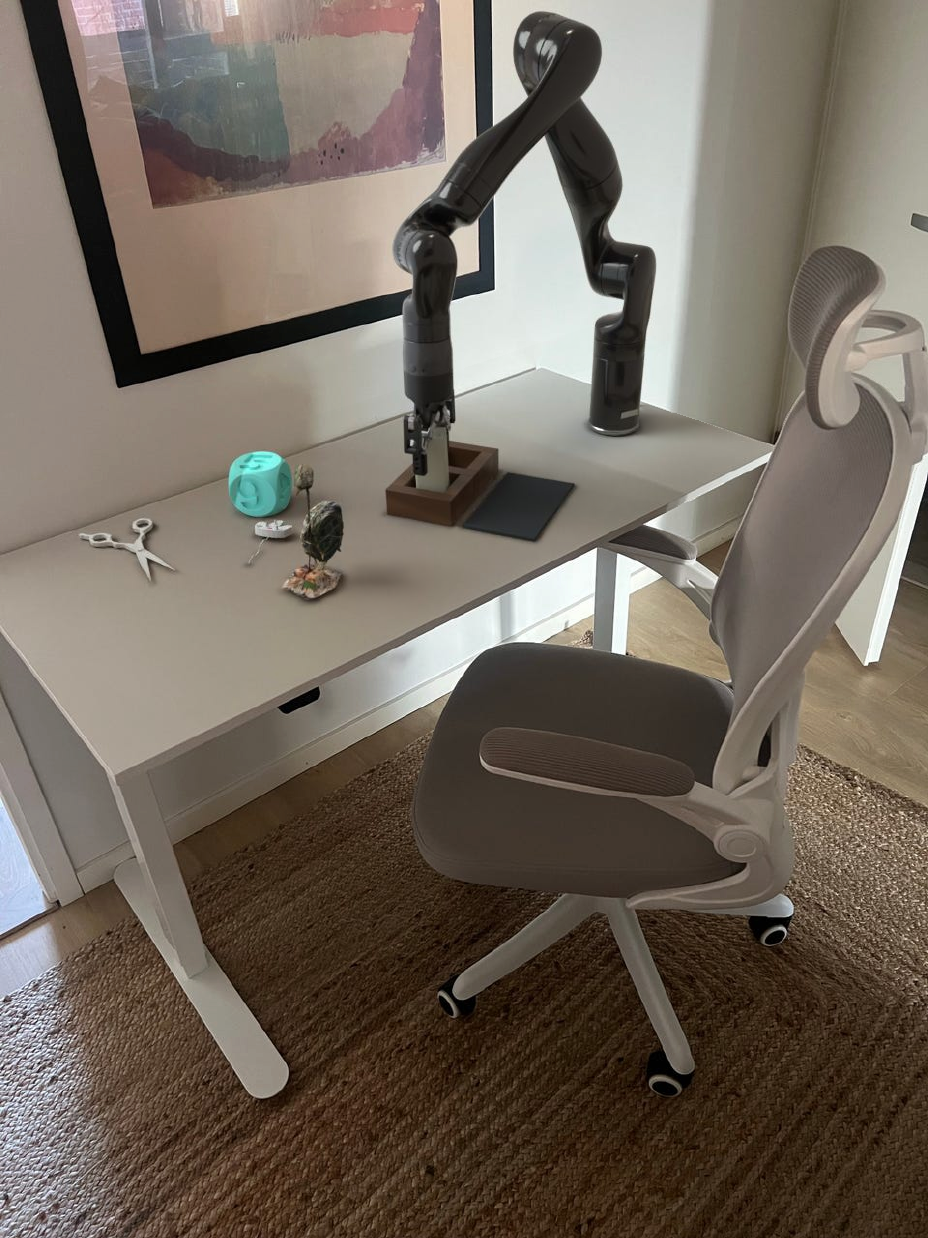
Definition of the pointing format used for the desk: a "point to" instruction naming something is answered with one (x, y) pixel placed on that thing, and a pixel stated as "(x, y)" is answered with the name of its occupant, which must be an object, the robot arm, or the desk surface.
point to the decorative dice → (260, 484)
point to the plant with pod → (316, 541)
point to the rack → (466, 482)
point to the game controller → (272, 530)
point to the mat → (519, 506)
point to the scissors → (135, 547)
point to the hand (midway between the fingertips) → (431, 463)
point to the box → (436, 464)
